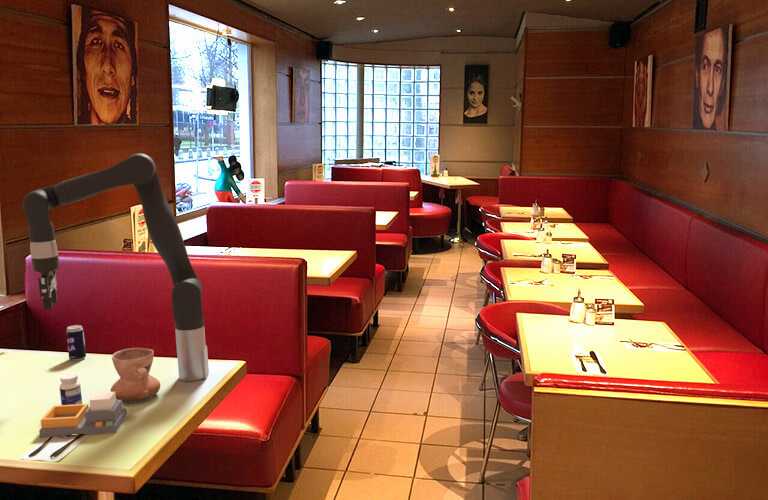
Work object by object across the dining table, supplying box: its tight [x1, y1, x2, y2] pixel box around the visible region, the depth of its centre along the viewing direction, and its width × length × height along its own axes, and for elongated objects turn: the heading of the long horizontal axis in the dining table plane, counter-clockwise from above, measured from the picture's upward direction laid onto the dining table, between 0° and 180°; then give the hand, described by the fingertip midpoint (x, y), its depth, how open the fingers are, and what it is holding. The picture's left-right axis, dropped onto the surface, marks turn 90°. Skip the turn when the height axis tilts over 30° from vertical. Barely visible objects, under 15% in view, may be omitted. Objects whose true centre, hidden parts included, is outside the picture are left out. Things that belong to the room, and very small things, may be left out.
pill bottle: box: [59, 372, 83, 405], centre depth 210 cm, size 6×6×10 cm
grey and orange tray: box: [38, 400, 128, 438], centre depth 197 cm, size 20×12×6 cm, turn 95°
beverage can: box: [65, 324, 87, 362], centre depth 254 cm, size 6×6×12 cm
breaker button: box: [89, 391, 116, 411], centre depth 197 cm, size 5×5×4 cm
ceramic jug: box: [110, 347, 161, 403], centre depth 217 cm, size 18×14×14 cm
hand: (51, 306), depth 221 cm, fingers open, 8 cm apart
